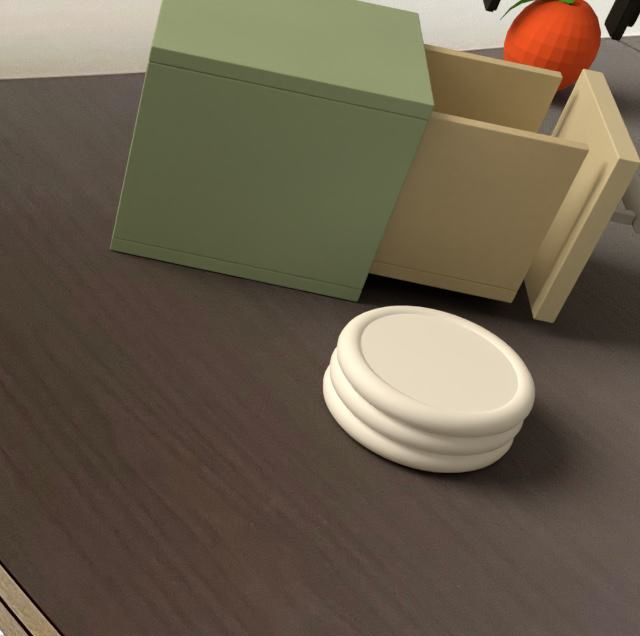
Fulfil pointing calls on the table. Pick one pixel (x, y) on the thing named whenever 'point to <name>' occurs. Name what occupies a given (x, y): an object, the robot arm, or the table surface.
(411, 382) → the cream round stack
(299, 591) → the table surface
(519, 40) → the clementine
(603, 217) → the drawer
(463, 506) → the table surface
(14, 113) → the table surface
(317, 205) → the cabinet
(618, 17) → the robot arm
